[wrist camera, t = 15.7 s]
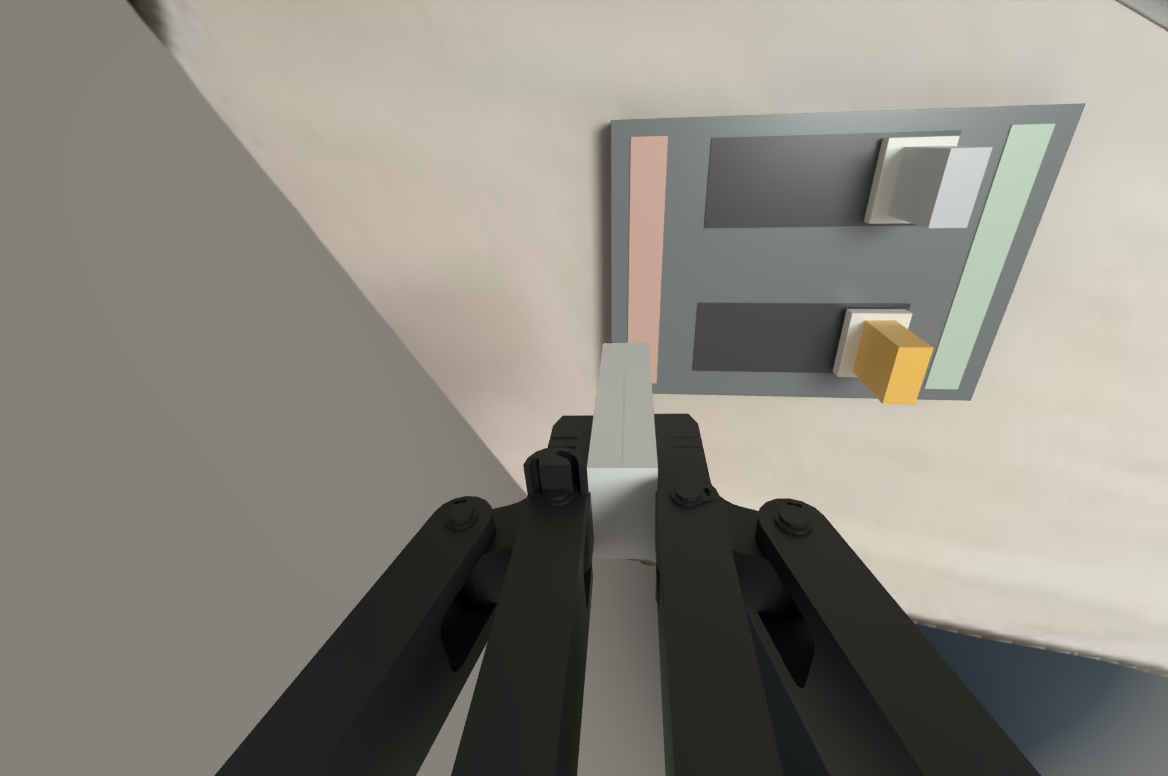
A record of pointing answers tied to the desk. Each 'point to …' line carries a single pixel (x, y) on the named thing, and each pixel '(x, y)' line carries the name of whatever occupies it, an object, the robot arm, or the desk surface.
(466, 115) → the desk surface
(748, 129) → the breaker panel
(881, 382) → the breaker handle
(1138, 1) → the emergency button
